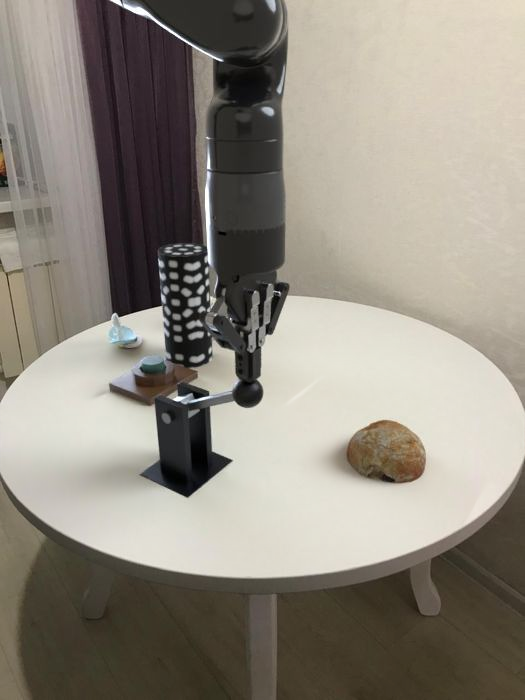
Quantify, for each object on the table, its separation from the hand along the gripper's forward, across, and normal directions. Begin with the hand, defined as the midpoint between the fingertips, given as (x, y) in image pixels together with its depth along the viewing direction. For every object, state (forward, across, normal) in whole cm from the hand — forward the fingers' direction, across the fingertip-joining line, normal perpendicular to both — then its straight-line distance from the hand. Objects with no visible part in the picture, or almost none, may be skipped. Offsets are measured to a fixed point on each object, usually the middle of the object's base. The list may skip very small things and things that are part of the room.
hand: (248, 378), depth 63 cm
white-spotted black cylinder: (+17, -26, -32) cm, 44 cm away
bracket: (+17, 0, -10) cm, 20 cm away
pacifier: (+17, -24, -46) cm, 54 cm away
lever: (+6, 0, -4) cm, 7 cm away
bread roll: (+17, -16, +10) cm, 26 cm away
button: (+13, -14, -29) cm, 35 cm away
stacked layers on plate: (+17, -38, -40) cm, 58 cm away
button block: (+17, -14, -29) cm, 36 cm away
